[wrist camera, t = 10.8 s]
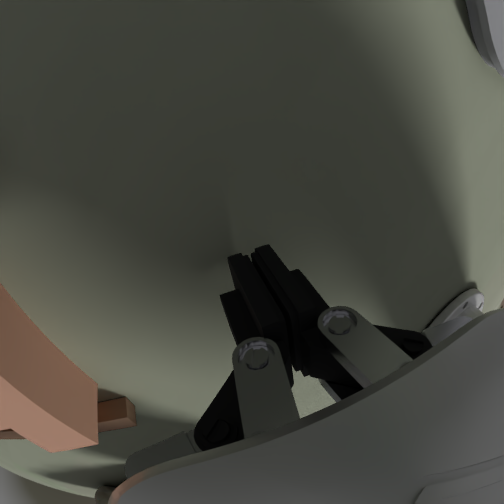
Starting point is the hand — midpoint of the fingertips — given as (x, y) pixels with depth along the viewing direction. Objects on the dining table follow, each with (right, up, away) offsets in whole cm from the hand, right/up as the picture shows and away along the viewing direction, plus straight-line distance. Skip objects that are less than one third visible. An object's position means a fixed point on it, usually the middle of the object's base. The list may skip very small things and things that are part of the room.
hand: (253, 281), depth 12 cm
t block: (-15, -5, -1) cm, 16 cm away
